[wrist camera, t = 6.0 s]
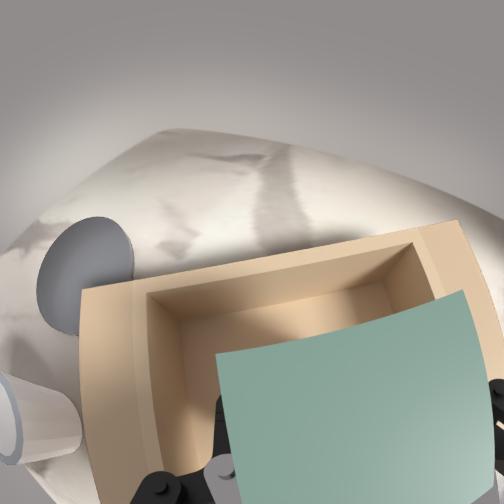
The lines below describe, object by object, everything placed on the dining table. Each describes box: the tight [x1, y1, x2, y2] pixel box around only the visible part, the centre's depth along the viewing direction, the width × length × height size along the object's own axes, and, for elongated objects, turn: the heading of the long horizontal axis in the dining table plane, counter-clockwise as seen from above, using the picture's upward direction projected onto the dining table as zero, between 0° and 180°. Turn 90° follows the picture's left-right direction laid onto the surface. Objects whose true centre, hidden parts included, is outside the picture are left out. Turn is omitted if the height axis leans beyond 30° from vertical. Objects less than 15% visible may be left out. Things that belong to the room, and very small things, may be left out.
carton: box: [79, 220, 504, 504], centre depth 12 cm, size 23×16×6 cm
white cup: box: [0, 371, 83, 465], centre depth 11 cm, size 7×7×7 cm
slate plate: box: [36, 217, 134, 336], centre depth 20 cm, size 11×11×1 cm
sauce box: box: [215, 289, 495, 504], centre depth 8 cm, size 5×5×12 cm
